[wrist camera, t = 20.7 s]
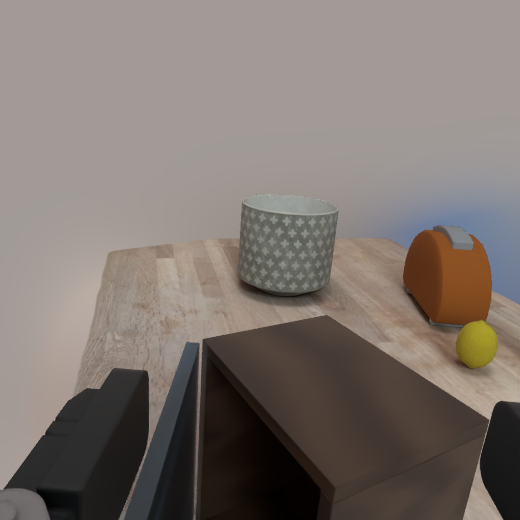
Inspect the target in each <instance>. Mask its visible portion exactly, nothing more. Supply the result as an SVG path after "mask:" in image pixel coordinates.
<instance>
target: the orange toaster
mask: <svg viewBox="0 0 520 520" xmlns="http://www.w3.org/2000/svg"><path fill="white" fill-rule="evenodd" d="M403 280H404V283H405V285H406V287H407V292H408V293H409V294H412V295H413V296H414V298H415V299H416V300H417V302H418V303H419V304H420V306H421V307H422V308H423V310H424V311H425V313H426V314H427V315H428V317H429V318H430V320H429V322H430V324H431V325H442V326H454V327H464V326H465V325H466V324H468V323H470V322H474V321H480V320H483V321H486V318H487V315H488V311H489V307H490V302H491V290H492V289H491V288H492V281H491V270H490V265H489V261H488V258H487V255H486V252H485V249H484V247H483V245H482V244H481V243H480V242H479V241H478V240H477V239H476V238H475V237H474V236H473V235H470V234H468V233H467V232H466V231H465V230H464V229H462V228H460V227H455V226H441V225H438V226H435V227H433V230H424V231H423V232H421V233H419V234H418V235H417V236H416V237H415V239H414V240H413V242H412V244H411V246H410V248H409V251H408V254H407V257H406V261H405V266H404V274H403Z"/></svg>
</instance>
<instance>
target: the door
mask: <svg viewBox="0 0 520 520" xmlns="http://www.w3.org/2000/svg"><path fill="white" fill-rule="evenodd" d="M199 345H200V344H199V343H190V342H187V343H186V345H185V348H184V351H183V354H182V356H181V359H180V362H179V365H178V368H177V371H176V373H175V376H174V379H173V382H172V385H171V387H170V390H169V393H168V396H167V399H166V402H165V404H164V407H163V410H162V413H161V416H160V418H159V421H158V424H157V427H156V430H155V433H154V435H153V438H152V441H151V444H150V447H149V449H148V452H147V455H146V458H145V461H144V464H143V466H142V469H141V472H140V475H139V478H138V480H137V483H136V486H135V489H134V492H133V495H132V497H131V500H130V503H129V506H128V509H127V511H122V513H121V515H120V518H119V520H193V514H194V486H195V458H196V429H197V401H198V373H199Z"/></svg>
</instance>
